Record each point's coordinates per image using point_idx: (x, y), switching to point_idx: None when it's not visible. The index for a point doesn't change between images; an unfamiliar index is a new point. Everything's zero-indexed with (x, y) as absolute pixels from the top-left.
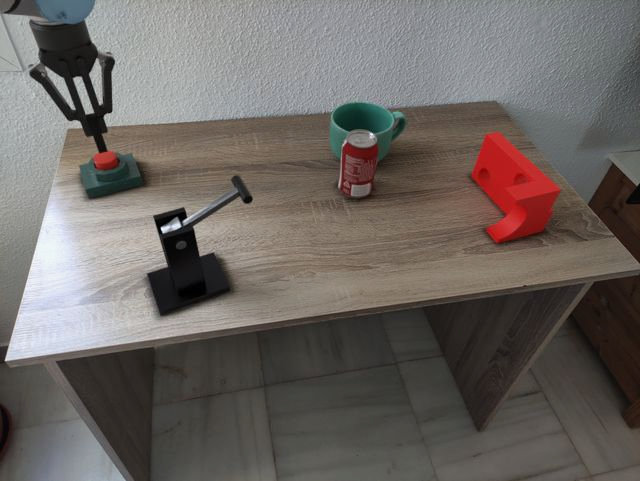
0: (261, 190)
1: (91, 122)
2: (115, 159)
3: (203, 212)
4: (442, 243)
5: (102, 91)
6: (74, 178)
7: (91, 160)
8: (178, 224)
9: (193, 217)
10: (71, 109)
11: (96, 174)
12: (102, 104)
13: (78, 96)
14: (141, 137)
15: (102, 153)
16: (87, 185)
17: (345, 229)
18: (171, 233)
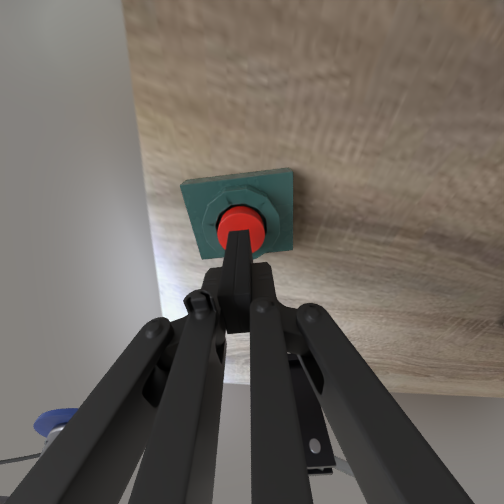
0: (430, 290)
1: (237, 331)
2: (261, 244)
3: (351, 475)
4: (499, 372)
5: (336, 394)
6: (172, 189)
7: (209, 212)
8: (321, 469)
9: (338, 468)
10: (167, 345)
11: (221, 254)
12: (296, 336)
13: (212, 473)
14: (330, 42)
15: (236, 221)
16: (204, 250)
17: (451, 350)
18: (310, 475)
